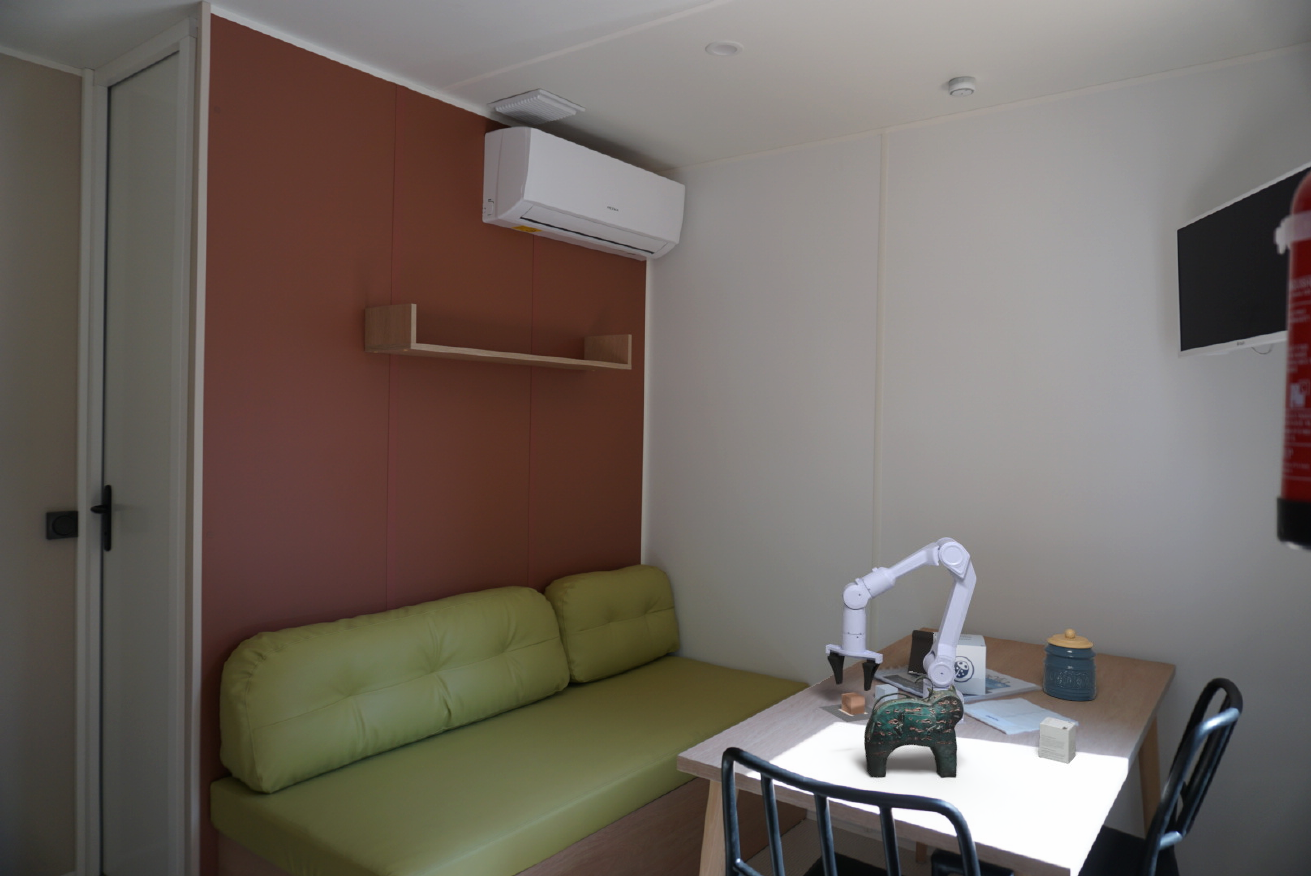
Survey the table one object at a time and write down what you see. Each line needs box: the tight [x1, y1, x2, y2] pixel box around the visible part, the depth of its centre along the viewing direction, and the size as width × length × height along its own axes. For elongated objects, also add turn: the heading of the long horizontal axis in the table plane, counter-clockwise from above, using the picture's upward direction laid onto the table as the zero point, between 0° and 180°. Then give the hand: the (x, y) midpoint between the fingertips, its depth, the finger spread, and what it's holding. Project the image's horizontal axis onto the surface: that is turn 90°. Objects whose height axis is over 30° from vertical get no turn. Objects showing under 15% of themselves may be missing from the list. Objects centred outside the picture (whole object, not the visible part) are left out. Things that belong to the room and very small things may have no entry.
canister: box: [1042, 628, 1098, 702], centre depth 227 cm, size 13×13×18 cm
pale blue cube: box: [874, 683, 899, 703], centre depth 218 cm, size 4×4×4 cm
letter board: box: [819, 703, 873, 723], centre depth 208 cm, size 12×12×1 cm
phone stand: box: [907, 629, 935, 674], centre depth 247 cm, size 9×6×12 cm, turn 143°
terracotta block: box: [841, 691, 866, 715], centre depth 208 cm, size 4×4×4 cm
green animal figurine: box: [863, 676, 965, 779], centre depth 171 cm, size 20×6×20 cm, turn 92°
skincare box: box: [1038, 716, 1077, 765], centre depth 182 cm, size 6×6×7 cm
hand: (853, 686), depth 208 cm, fingers open, 7 cm apart
